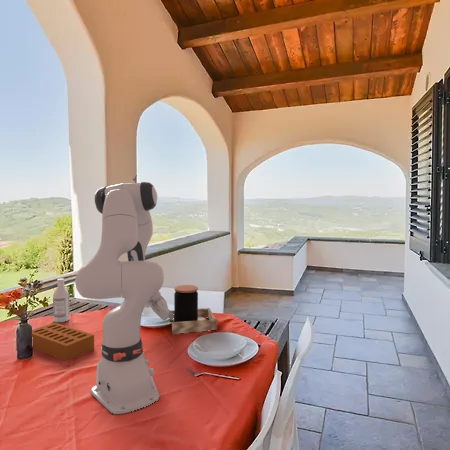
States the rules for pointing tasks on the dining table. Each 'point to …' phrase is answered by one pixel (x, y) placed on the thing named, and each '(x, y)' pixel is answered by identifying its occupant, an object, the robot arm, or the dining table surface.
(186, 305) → the coffee jar
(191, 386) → the dining table surface
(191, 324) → the tray
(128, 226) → the robot arm
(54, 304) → the bath foam
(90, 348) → the brick
